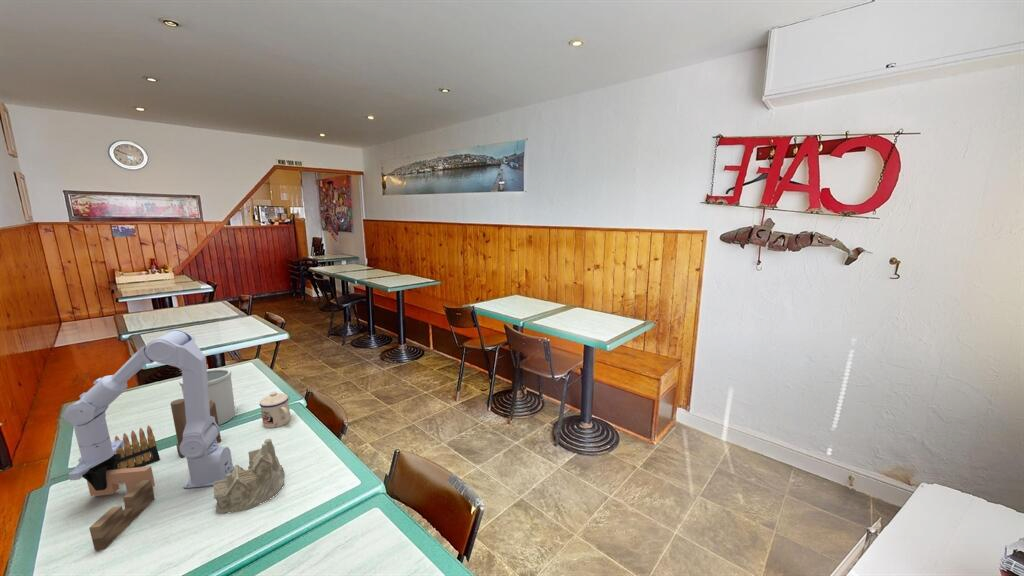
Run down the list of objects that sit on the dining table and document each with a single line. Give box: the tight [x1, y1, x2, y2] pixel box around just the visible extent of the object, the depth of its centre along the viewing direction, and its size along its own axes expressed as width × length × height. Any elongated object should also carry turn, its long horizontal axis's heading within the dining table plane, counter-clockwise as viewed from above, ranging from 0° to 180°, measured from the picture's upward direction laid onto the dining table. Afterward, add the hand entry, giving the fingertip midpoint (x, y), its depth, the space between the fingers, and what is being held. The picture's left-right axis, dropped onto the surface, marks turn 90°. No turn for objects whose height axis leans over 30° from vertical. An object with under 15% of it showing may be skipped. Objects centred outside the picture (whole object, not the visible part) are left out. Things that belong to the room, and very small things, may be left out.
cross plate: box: [86, 465, 156, 497], centre depth 107 cm, size 14×2×6 cm, turn 100°
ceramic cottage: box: [213, 438, 285, 514], centre depth 107 cm, size 16×16×15 cm
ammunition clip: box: [114, 424, 161, 469], centre depth 117 cm, size 11×2×12 cm, turn 143°
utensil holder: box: [179, 367, 236, 426], centre depth 144 cm, size 15×15×18 cm
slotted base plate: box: [89, 479, 156, 551], centre depth 97 cm, size 16×2×6 cm, turn 10°
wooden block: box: [170, 398, 222, 458], centre depth 126 cm, size 4×11×18 cm, turn 146°
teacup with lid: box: [259, 391, 291, 429], centre depth 141 cm, size 12×9×12 cm
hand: (105, 486), depth 106 cm, fingers closed on cross plate, 2 cm apart
